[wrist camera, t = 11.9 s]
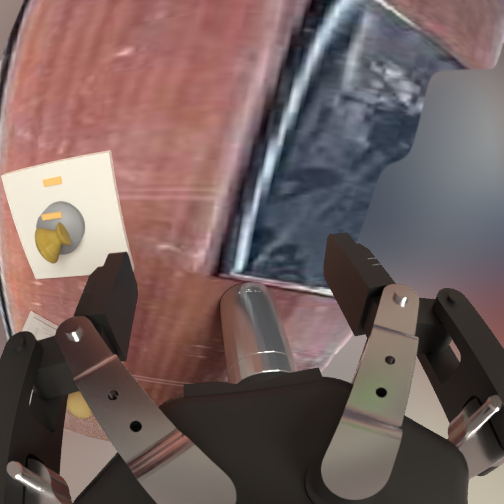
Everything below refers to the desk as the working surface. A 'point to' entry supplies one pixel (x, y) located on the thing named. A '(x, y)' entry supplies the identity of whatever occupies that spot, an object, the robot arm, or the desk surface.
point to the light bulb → (78, 405)
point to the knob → (51, 242)
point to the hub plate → (84, 196)
